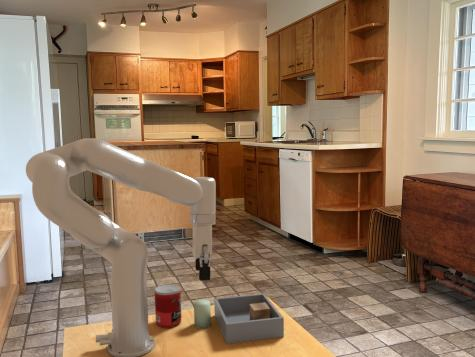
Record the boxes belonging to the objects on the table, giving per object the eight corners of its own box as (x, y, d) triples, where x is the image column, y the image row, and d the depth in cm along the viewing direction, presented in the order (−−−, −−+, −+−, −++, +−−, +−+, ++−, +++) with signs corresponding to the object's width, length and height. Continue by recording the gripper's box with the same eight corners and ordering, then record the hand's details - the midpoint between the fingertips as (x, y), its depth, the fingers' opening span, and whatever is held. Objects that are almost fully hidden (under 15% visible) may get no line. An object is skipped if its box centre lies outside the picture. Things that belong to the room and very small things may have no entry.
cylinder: (195, 329, 130) (194, 306, 129) (193, 322, 135) (192, 300, 134) (212, 327, 131) (211, 305, 130) (209, 320, 136) (208, 298, 135)
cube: (254, 326, 130) (253, 310, 129) (249, 319, 135) (249, 304, 134) (270, 324, 131) (270, 308, 130) (265, 317, 136) (265, 302, 135)
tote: (226, 343, 121) (226, 324, 120) (214, 315, 140) (214, 298, 139) (283, 336, 124) (283, 317, 124) (264, 309, 143) (264, 293, 143)
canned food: (176, 329, 130) (175, 293, 129) (151, 327, 132) (150, 292, 131) (185, 318, 138) (184, 284, 136) (161, 316, 139) (159, 283, 138)
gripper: (187, 214, 137) (187, 267, 139) (193, 224, 120) (193, 285, 122) (211, 213, 139) (210, 266, 140) (220, 223, 122) (219, 283, 123)
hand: (202, 274), depth 131 cm, fingers open, 9 cm apart
